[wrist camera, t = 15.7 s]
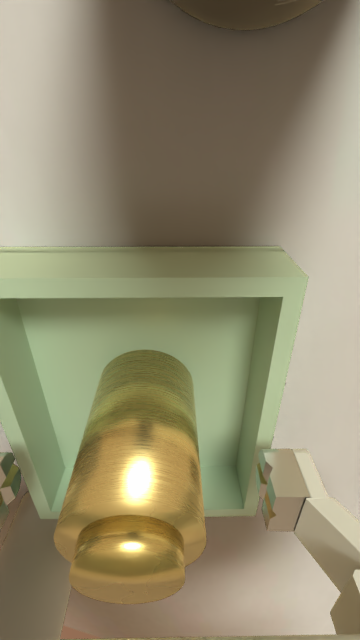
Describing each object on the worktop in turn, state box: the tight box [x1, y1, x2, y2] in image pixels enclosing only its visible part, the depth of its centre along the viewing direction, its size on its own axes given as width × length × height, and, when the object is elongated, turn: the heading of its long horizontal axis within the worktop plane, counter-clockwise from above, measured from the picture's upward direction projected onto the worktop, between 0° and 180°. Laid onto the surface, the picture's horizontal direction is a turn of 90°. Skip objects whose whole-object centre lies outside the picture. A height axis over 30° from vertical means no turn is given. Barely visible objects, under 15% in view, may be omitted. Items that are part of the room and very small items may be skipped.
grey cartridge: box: [0, 491, 72, 640], centre depth 16 cm, size 4×4×7 cm
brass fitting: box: [54, 350, 206, 604], centre depth 11 cm, size 4×4×7 cm
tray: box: [0, 246, 309, 519], centre depth 13 cm, size 12×10×3 cm
